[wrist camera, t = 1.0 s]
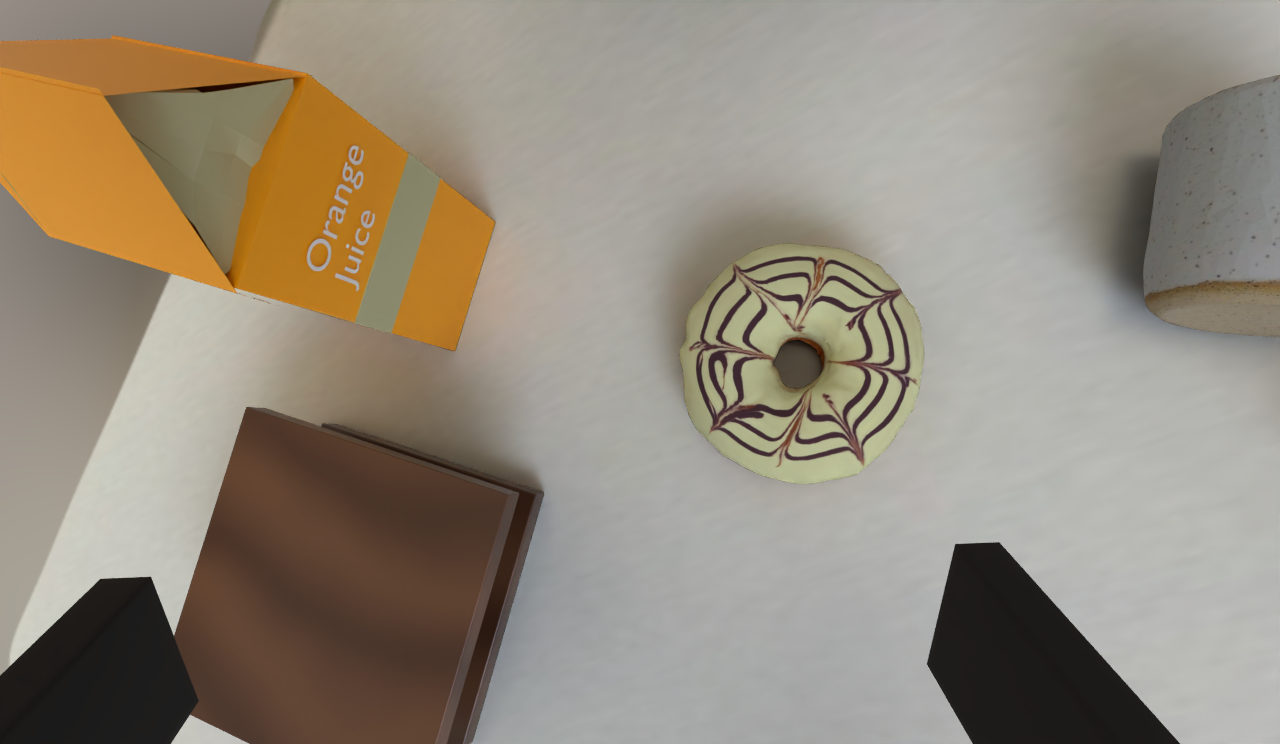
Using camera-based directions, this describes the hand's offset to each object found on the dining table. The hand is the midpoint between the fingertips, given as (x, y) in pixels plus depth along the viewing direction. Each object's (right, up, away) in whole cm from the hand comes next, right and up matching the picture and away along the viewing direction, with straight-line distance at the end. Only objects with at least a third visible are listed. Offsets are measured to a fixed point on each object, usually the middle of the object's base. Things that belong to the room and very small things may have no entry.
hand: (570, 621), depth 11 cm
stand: (-12, -7, +23) cm, 27 cm away
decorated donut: (+9, +4, +20) cm, 23 cm away
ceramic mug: (+27, +10, +17) cm, 34 cm away
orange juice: (-12, +10, +25) cm, 30 cm away
